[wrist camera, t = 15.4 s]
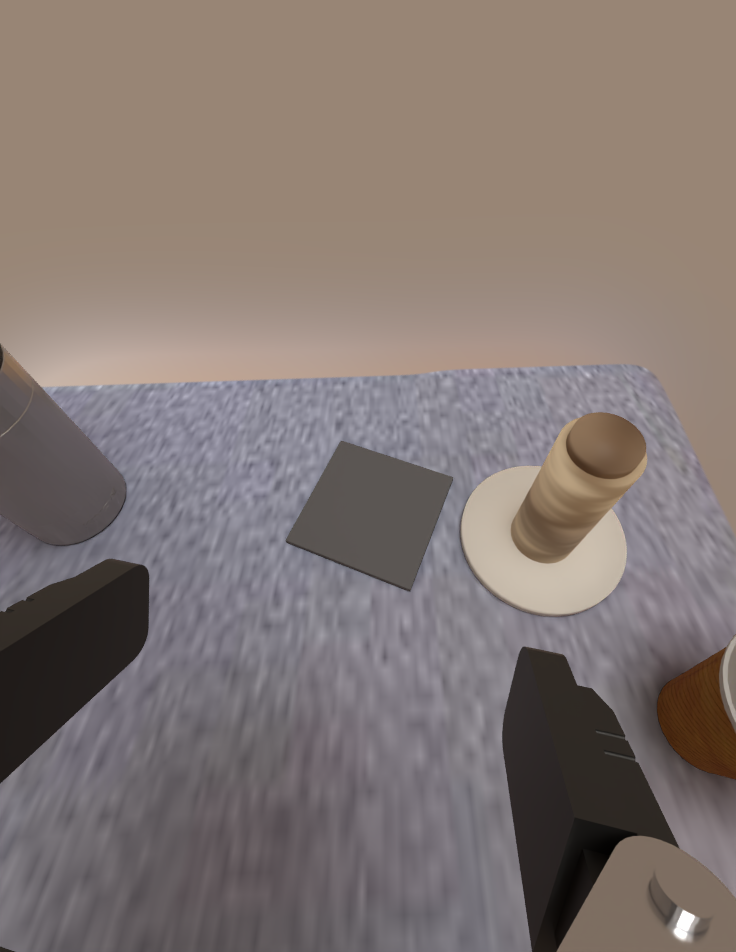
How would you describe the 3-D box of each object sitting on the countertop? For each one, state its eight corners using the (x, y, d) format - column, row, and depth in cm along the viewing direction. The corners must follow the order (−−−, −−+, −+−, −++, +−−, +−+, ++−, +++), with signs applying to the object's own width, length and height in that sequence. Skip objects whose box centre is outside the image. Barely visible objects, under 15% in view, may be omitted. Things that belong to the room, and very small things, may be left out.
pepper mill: (503, 549, 40) (554, 460, 28) (519, 498, 42) (572, 396, 30) (567, 573, 38) (649, 489, 26) (579, 519, 41) (659, 421, 29)
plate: (439, 579, 40) (441, 574, 39) (483, 454, 46) (485, 448, 45) (608, 644, 36) (614, 640, 35) (629, 500, 43) (635, 494, 42)
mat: (286, 542, 42) (285, 540, 42) (341, 443, 48) (341, 440, 47) (409, 591, 39) (410, 589, 39) (452, 480, 45) (453, 477, 44)
